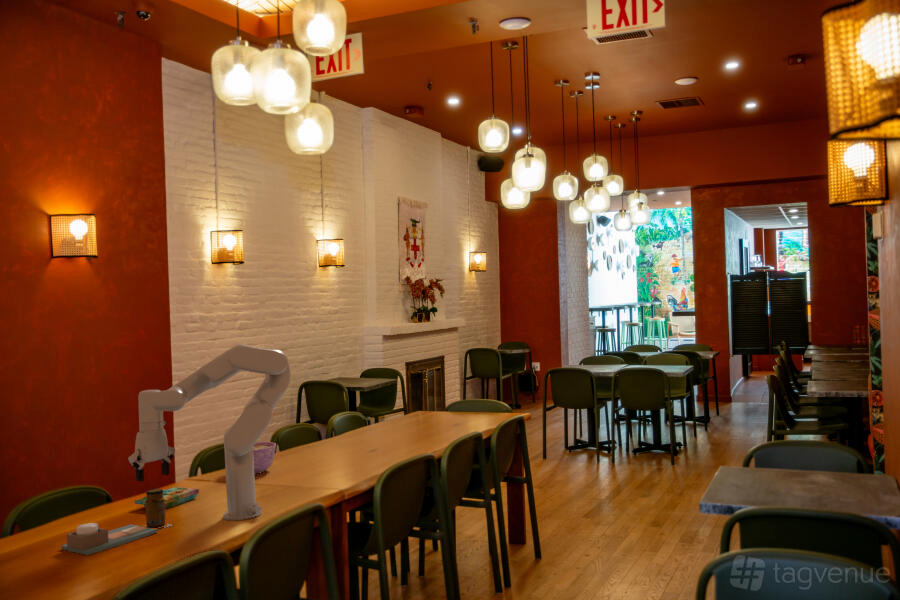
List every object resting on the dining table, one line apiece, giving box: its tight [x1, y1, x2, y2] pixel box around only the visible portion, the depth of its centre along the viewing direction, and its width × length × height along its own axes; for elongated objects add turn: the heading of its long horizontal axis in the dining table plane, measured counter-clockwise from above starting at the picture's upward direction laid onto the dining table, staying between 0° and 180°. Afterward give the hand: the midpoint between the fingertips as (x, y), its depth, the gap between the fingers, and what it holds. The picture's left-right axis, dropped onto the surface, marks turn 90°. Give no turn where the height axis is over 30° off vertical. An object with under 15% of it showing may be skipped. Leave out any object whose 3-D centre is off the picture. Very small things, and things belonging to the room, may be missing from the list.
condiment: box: [141, 488, 174, 529], centre depth 256 cm, size 7×8×12 cm
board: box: [60, 524, 158, 556], centre depth 242 cm, size 14×24×5 cm, turn 147°
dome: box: [75, 522, 99, 537], centre depth 236 cm, size 6×6×3 cm
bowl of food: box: [253, 441, 277, 475], centre depth 334 cm, size 20×20×12 cm
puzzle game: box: [134, 486, 200, 510], centre depth 286 cm, size 12×5×20 cm
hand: (153, 477), depth 256 cm, fingers open, 9 cm apart
